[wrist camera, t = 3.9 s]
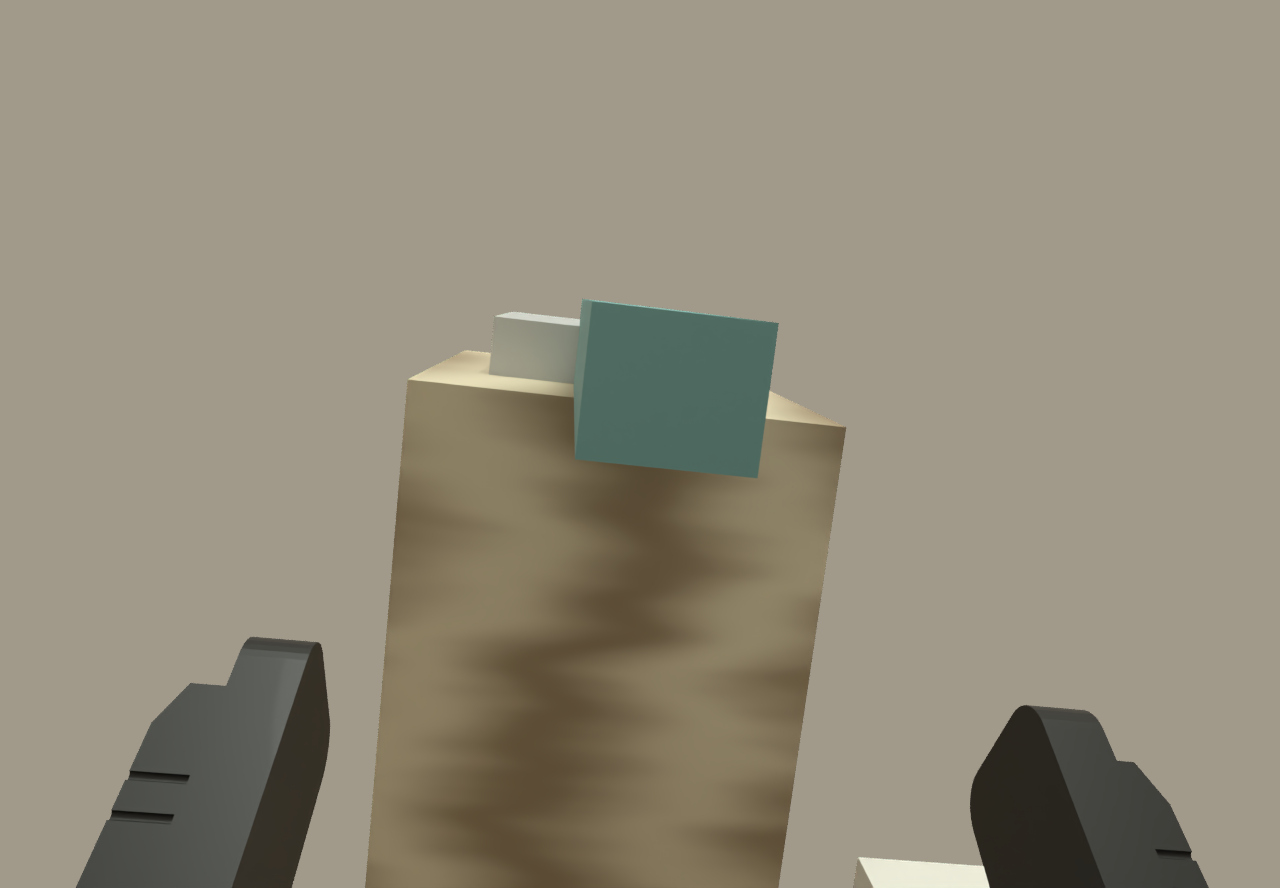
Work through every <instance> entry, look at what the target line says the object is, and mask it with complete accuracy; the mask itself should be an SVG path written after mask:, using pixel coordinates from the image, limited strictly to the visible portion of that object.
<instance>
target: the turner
mask: <svg viewBox="0 0 1280 888" xmlns="http://www.w3.org/2000/svg"><path fill="white" fill-rule="evenodd" d="M777 331H778V323H773V322H766V321H758V320H750V319H742V318H734V317H726V316H718V315H711V314H703V313H695V312H687V311H680V310H671V309H662V308H654V307H646V306H638V305H629V304H620V303H612V302H604V301H595V300H586V299H582V307H581V317H580V319H571V318H563V317H554V316H546V315H537V314H528V313H520V312H510V313H506V314H502V315H498V316H494V325H493V335H492V346H491V356H490V367H489V375H497V376H507V377H516V378H525V379H534V380H543V381H552V382H561V383H570V384H574V436H575V459H576V460H586V461H596V462H605V463H615V464H624V465H634V466H644V467H653V468H663V469H672V470H682V471H692V472H701V473H711V474H721V475H730V476H740V477H749V478H758V471H759V464H760V457H761V449H762V442H763V434H764V427H765V420H766V412H767V405H768V398H769V390H770V383H771V375H772V368H773V360H774V353H775V346H776V338H777Z"/></svg>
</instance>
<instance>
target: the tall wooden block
mask: <svg viewBox="0 0 1280 888" xmlns="http://www.w3.org/2000/svg"><path fill="white" fill-rule="evenodd" d="M490 356H491V353H486V352H477V351H468V350H465V351H463V352H462V353H459V354H457V355H456V356H453V357H452V358H449V359H447V360H445V361H443V362H441V363H439V364H437V365H435V366H434V367H431V368H429V369H428V370H426V371H423V372H421V373H420V374H417V375H416V376H413V377H411V378H410V379H408V382H407V394H406V406H405V418H404V430H403V442H402V455H401V466H400V478H399V490H398V502H397V514H396V526H395V538H394V549H393V561H392V573H391V585H390V598H389V610H388V621H387V634H386V645H385V657H384V669H383V681H382V693H381V706H380V717H379V729H378V742H377V753H376V766H375V777H374V789H373V801H372V813H371V825H370V837H369V849H368V861H367V873H366V885H365V888H778V886H779V879H780V872H781V865H782V859H783V852H784V845H785V838H786V831H787V825H788V818H789V811H790V804H791V798H792V791H793V784H794V777H795V771H796V763H797V757H798V750H799V743H800V736H801V730H802V723H803V716H804V709H805V702H806V695H807V689H808V682H809V675H810V669H811V662H812V655H813V649H814V642H815V634H816V628H817V621H818V614H819V608H820V601H821V594H822V587H823V581H824V574H825V567H826V560H827V554H828V547H829V540H830V533H831V526H832V519H833V512H834V506H835V499H836V492H837V486H838V479H839V472H840V465H841V459H842V452H843V445H844V438H845V432H846V427H844V426H842V425H840V424H838V423H836V422H834V421H832V420H830V419H828V418H825V417H823V416H821V415H819V414H817V413H815V412H813V411H811V410H808V409H806V408H805V407H802V406H800V405H798V404H796V403H794V402H792V401H790V400H788V399H786V398H783V397H781V396H779V395H777V394H775V393H773V392H771V391H769V398H768V405H767V412H766V420H765V427H764V434H763V442H762V449H761V457H760V464H759V471H758V478H749V477H740V476H730V475H721V474H711V473H701V472H692V471H682V470H672V469H663V468H653V467H644V466H634V465H624V464H615V463H605V462H596V461H586V460H576V459H575V436H574V384H570V383H561V382H552V381H543V380H534V379H525V378H516V377H507V376H497V375H489V367H490Z"/></svg>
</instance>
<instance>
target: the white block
mask: <svg viewBox="0 0 1280 888" xmlns="http://www.w3.org/2000/svg"><path fill="white" fill-rule="evenodd" d="M853 888H990V887H989V883H988V880H987V876H986V873H985V869H984V866H974V865H960V864H945V863H932V862H917V861H903V860H889V859H876V858H862V857H858V861H857V867H856V873H855V880H854V886H853Z"/></svg>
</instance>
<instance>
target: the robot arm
mask: <svg viewBox="0 0 1280 888" xmlns="http://www.w3.org/2000/svg"><path fill="white" fill-rule="evenodd" d="M329 736H330V718H329V709H328V699H327V690H326V680H325V670H324V661H323V652H322V647H321V644H320V643H318V642H307V641H295V640H283V639H272V638H259V637H250V638H249V639H248V640H247V641H246V642H245V643H244V645H243V647H242V649H241V651H240V653H239V656H238V658H237V660H236V663H235V665H234V668H233V670H232V673H231V675H230V678H229V680H228V683H227V685H226V686H219V685H207V684H193V683H190V684H189V685H188V686H187V687H186V688H185V689H184V690H183V691H182V692H181V693H180V694H179V695H178V696H177V697H176V699H174V700H173V701H172V703H171V704H169V706H168V707H167V708H166V709H165V710H164V711H163V712H162V713H161V714H160V715H159V716H158V717H157V718H156V719H155V720H154V721H153V722H152V723H151V725H150V727H149V729H148V731H147V734H146V736H145V738H144V740H143V742H142V745H141V747H140V749H139V751H138V753H137V755H136V758H135V760H134V762H133V764H132V766H131V769H130V775H129V778H128V780H125V782H124V784H123V786H122V788H121V790H120V793H119V795H118V797H117V799H116V801H115V803H114V806H113V808H112V815H111V817H110V819H109V820H107V821H106V823H105V826H104V828H103V830H102V832H101V834H100V836H99V838H98V841H97V843H96V845H95V847H94V850H93V852H92V854H91V856H90V858H89V860H88V862H87V864H86V867H85V869H84V871H83V873H82V875H81V878H80V880H79V882H78V884H77V886H76V888H292V884H293V881H294V877H295V874H296V870H297V866H298V863H299V859H300V856H301V852H302V849H303V845H304V842H305V838H306V834H307V831H308V828H309V824H310V821H311V817H312V814H313V810H314V806H315V803H316V799H317V796H318V792H319V789H320V785H321V782H322V778H323V774H324V770H325V765H326V760H327V753H328V747H329ZM970 812H971V820H972V826H973V830H974V834H975V837H976V841H977V845H978V848H979V852H980V855H981V859H982V862H983V866H984V869H985V873H986V876H987V880H988V883H989V887H990V888H1208V885H1207V883H1206V881H1205V879H1204V877H1203V875H1202V873H1201V870H1200V868H1199V866H1198V864H1197V862H1196V861H1193V860H1192V858H1191V852H1192V851H1191V849H1190V847H1189V844H1188V842H1187V840H1186V838H1185V836H1184V834H1183V831H1182V829H1181V827H1180V825H1179V823H1178V821H1177V819H1176V816H1175V814H1174V812H1173V810H1172V808H1171V806H1170V804H1169V803H1168V802H1167V800H1166V799H1165V798H1164V797H1163V796H1162V795H1161V793H1160V792H1159V791H1158V790H1157V789H1156V788H1155V786H1154V785H1153V784H1152V783H1151V782H1150V780H1149V779H1148V778H1147V777H1146V776H1145V775H1144V773H1143V772H1142V771H1141V770H1140V769H1139V768H1138V766H1137V765H1136V764H1135V763H1134V762H1123V761H1117V760H1116V758H1115V756H1114V753H1113V751H1112V749H1111V746H1110V744H1109V742H1108V739H1107V737H1106V735H1105V733H1104V730H1103V728H1102V726H1101V724H1100V723H1099V721H1098V720H1097V719H1096V717H1095V716H1094V715H1093V714H1091V713H1090V712H1088V711H1085V710H1075V709H1063V708H1051V707H1039V706H1027V705H1024V706H1021V707H1019V708H1018V709H1017V710H1015V712H1014V713H1013V715H1012V716H1011V718H1010V720H1009V721H1008V723H1007V724H1006V726H1005V728H1004V729H1003V731H1002V733H1001V734H1000V736H999V738H998V739H997V741H996V742H995V744H994V746H993V747H992V749H991V751H990V752H989V754H988V756H987V757H986V759H985V761H984V762H983V764H982V766H981V767H980V769H979V770H978V772H977V774H976V776H975V778H974V781H973V784H972V789H971V798H970Z"/></svg>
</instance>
